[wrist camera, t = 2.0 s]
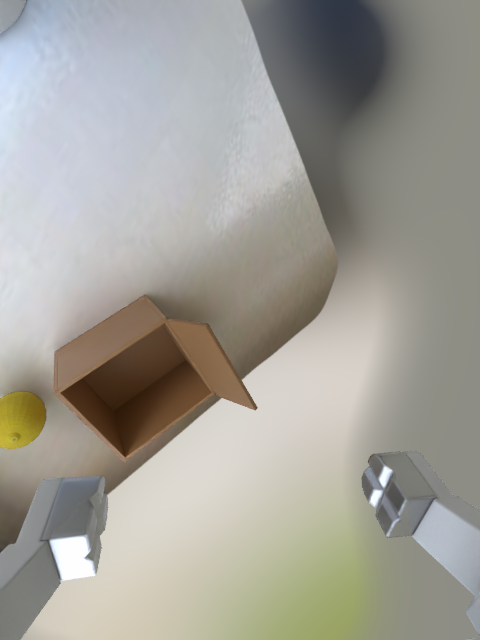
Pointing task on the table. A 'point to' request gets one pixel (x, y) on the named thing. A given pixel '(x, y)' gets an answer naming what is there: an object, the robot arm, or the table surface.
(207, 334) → the flap
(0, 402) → the lemon
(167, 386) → the carton
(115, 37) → the table surface
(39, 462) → the table surface
